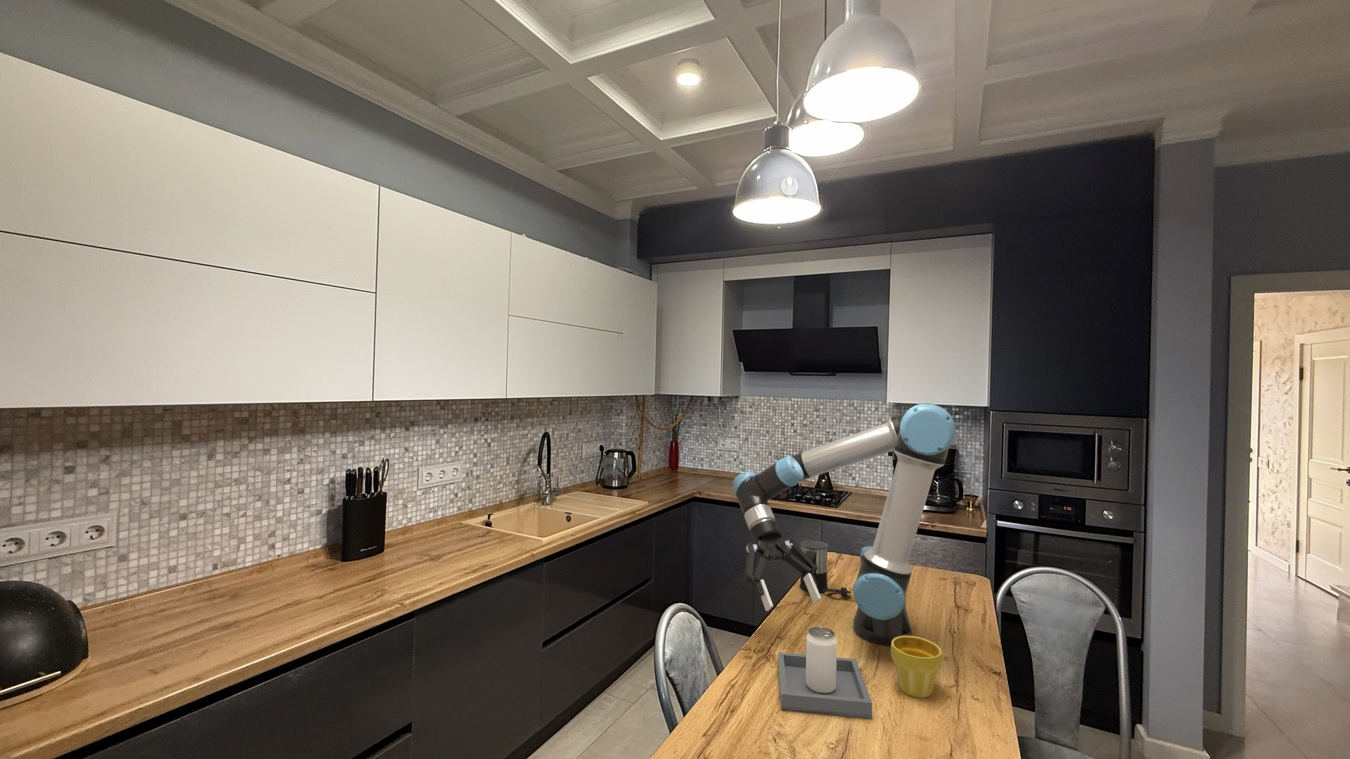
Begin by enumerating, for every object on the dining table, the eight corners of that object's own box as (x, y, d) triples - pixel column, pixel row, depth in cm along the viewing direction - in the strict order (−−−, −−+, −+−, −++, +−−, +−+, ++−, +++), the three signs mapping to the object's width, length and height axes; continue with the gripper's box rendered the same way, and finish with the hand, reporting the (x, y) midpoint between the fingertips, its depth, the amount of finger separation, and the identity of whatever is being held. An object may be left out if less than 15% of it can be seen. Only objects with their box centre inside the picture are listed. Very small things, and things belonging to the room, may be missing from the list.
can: (837, 696, 117) (838, 640, 117) (806, 692, 118) (807, 637, 118) (834, 680, 123) (835, 627, 123) (805, 677, 125) (806, 624, 125)
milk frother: (798, 582, 187) (799, 539, 188) (846, 585, 185) (846, 542, 185) (801, 598, 173) (801, 551, 173) (852, 602, 171) (853, 554, 171)
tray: (855, 672, 128) (855, 658, 128) (871, 719, 110) (872, 702, 110) (778, 665, 131) (778, 652, 131) (781, 710, 113) (781, 694, 113)
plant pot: (938, 709, 114) (939, 662, 114) (886, 693, 120) (887, 648, 120) (943, 686, 123) (944, 642, 123) (895, 672, 129) (895, 631, 129)
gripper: (796, 529, 152) (829, 604, 138) (716, 537, 143) (742, 618, 129) (808, 515, 147) (843, 591, 133) (725, 522, 138) (754, 605, 124)
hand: (794, 604), depth 131 cm, fingers open, 13 cm apart
